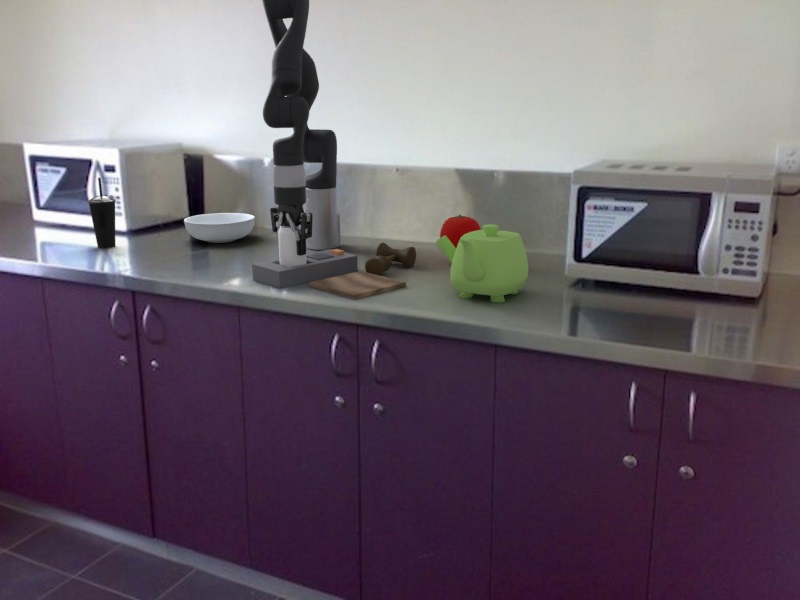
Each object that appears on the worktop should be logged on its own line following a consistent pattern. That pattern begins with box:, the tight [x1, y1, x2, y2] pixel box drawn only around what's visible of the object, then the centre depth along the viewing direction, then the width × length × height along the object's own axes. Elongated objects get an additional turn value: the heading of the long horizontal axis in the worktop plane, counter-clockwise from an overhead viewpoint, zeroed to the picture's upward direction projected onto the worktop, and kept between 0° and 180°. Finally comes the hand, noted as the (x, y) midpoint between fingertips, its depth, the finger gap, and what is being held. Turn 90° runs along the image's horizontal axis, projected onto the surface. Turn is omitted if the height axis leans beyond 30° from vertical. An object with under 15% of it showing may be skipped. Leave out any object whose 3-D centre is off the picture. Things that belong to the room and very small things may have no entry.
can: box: [277, 224, 307, 267], centre depth 190 cm, size 6×6×12 cm
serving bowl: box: [183, 212, 256, 244], centre depth 237 cm, size 21×21×7 cm
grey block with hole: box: [251, 248, 359, 289], centre depth 194 cm, size 24×11×5 cm, turn 134°
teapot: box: [435, 223, 529, 303], centre depth 175 cm, size 25×22×16 cm
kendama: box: [364, 242, 417, 276], centre depth 201 cm, size 6×10×20 cm
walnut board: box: [308, 270, 407, 300], centre depth 184 cm, size 16×16×1 cm
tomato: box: [439, 214, 482, 248], centre depth 205 cm, size 11×11×13 cm
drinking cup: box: [87, 177, 117, 249], centre depth 227 cm, size 8×8×20 cm
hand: (292, 252), depth 191 cm, fingers closed on can, 6 cm apart
